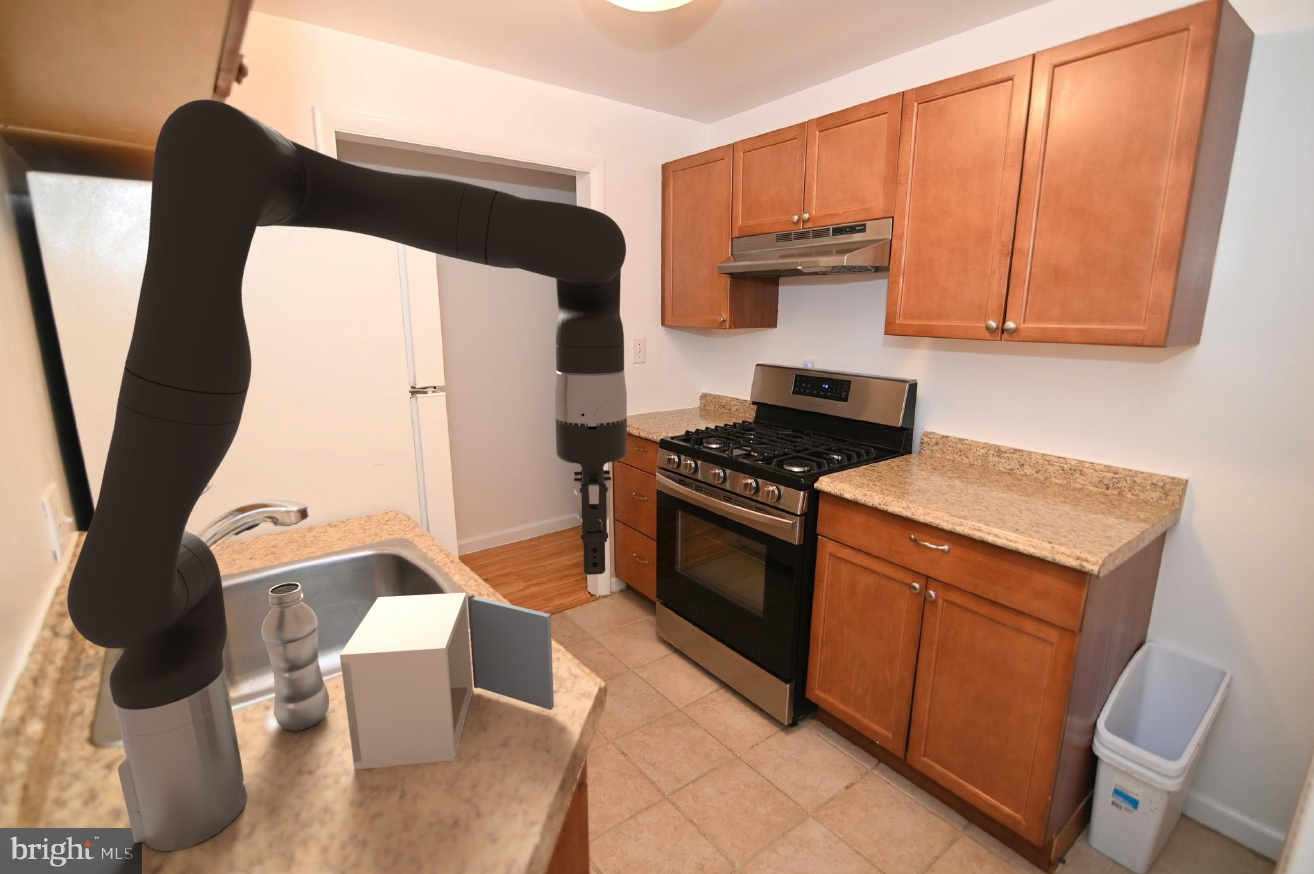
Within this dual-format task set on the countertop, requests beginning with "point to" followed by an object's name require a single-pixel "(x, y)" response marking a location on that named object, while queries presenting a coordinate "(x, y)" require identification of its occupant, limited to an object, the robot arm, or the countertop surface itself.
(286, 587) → the plastic bottle
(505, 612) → the flap
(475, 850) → the countertop surface
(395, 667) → the box
